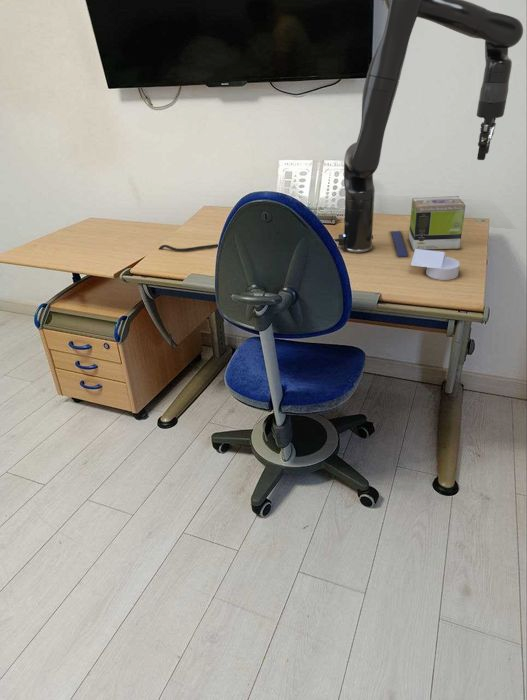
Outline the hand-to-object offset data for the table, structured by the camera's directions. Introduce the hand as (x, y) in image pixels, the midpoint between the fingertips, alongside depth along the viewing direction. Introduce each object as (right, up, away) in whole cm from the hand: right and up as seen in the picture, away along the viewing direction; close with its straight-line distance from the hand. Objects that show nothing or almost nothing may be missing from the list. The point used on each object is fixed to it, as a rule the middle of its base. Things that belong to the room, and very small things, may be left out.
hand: (482, 156), depth 157 cm
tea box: (-12, -25, +12) cm, 30 cm away
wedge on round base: (-17, -37, -6) cm, 42 cm away
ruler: (-22, -24, +14) cm, 36 cm away
